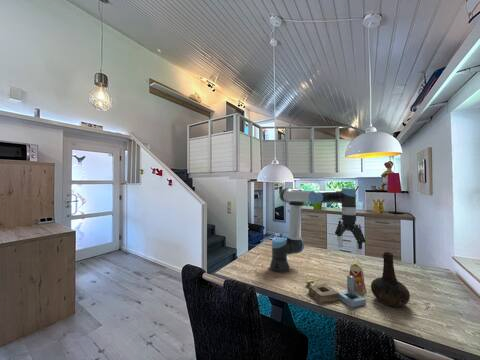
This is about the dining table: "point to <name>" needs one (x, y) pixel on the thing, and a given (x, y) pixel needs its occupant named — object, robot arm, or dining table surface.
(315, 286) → the socket block
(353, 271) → the milk carton
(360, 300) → the square frame
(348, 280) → the grey round-ended peg
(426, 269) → the dining table surface
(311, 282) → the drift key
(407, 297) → the glass bottle
